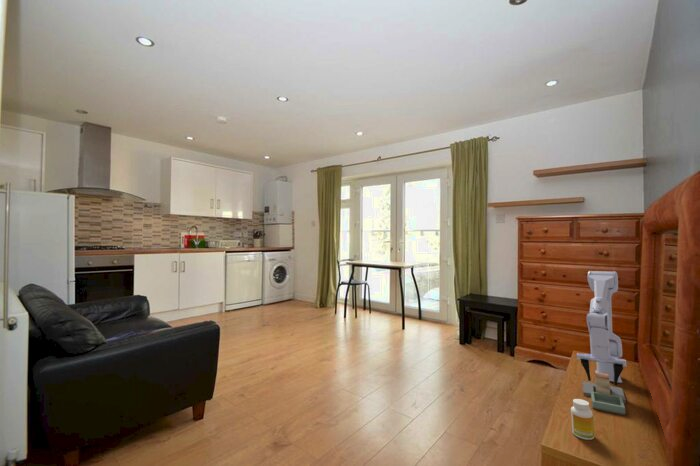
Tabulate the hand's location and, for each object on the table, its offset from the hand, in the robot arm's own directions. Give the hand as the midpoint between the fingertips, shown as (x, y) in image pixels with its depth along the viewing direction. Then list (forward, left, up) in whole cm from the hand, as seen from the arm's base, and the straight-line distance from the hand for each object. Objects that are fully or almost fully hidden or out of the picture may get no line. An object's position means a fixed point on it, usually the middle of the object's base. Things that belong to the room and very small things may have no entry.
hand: (602, 382), depth 119 cm
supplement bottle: (+34, -7, -5) cm, 35 cm away
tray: (+10, +1, -4) cm, 11 cm away
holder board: (0, 0, -4) cm, 4 cm away
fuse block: (0, 0, -5) cm, 5 cm away
